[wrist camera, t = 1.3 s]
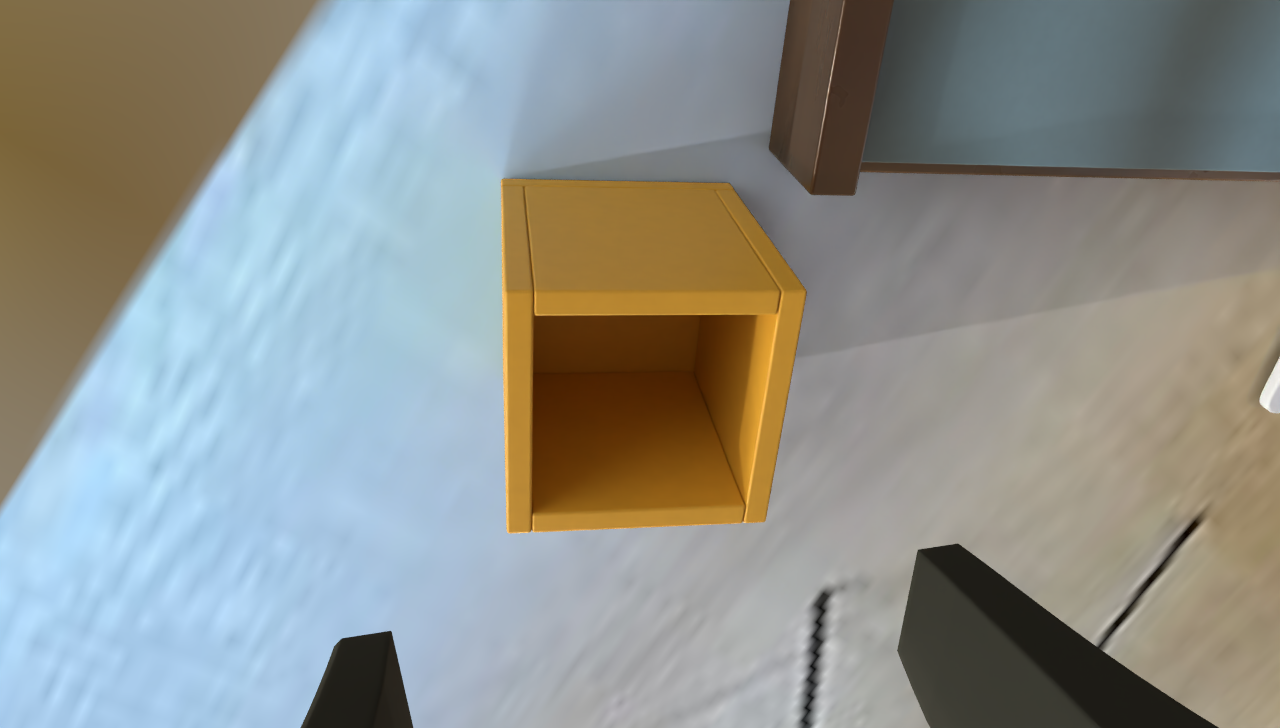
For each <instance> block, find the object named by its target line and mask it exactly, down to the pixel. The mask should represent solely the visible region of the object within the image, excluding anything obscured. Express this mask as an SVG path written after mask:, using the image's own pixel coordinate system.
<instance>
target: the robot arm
mask: <svg viewBox="0 0 1280 728" xmlns="http://www.w3.org/2000/svg"><path fill="white" fill-rule="evenodd" d="M1259 400H1260V404H1261V405H1262V406H1263V407H1264V408H1266V409H1267V410H1268V411H1270V412H1272V413H1280V357H1279V359H1278V361H1277V363H1276V365H1275V367H1274V369H1273V371H1272V373H1271V375H1270V377H1269V379H1268V381H1267V383H1266V385H1265V387H1264V389H1263V391H1262V393H1261V396H1260V399H1259ZM897 651H898V654H899V656H900V659H901V661H902V664H903V666H904V669H905V671H906V674H907V676H908V678H909V681H910V683H911V686H912V688H913V691H914V693H915V695H916V698H917V700H918V702H919V704H920V707H921V709H922V711H923V714H924V716H925V718H926V720H927V722H928V724H929V726H930V728H1218V727H1217V726H1215V725H1213V724H1212V723H1210V722H1209V721H1207V720H1205V719H1204V718H1202V717H1200V716H1199V715H1197V714H1196V713H1194V712H1192V711H1191V710H1189V709H1188V708H1186V707H1185V706H1183V705H1182V704H1180V703H1179V702H1177V701H1175V700H1174V699H1172V698H1171V697H1169V696H1168V695H1166V694H1165V693H1163V692H1162V691H1160V690H1159V689H1157V688H1156V687H1154V686H1153V685H1151V684H1150V683H1148V682H1147V681H1145V680H1144V679H1142V678H1141V677H1139V676H1138V675H1136V674H1135V673H1133V672H1132V671H1130V670H1129V669H1128V668H1126V667H1125V666H1123V665H1122V664H1120V663H1119V662H1117V661H1116V660H1115V659H1113V658H1112V657H1110V656H1109V655H1107V654H1106V653H1105V652H1103V651H1102V650H1100V649H1099V648H1098V647H1096V646H1095V645H1093V644H1092V643H1091V642H1089V641H1088V640H1086V639H1085V638H1084V637H1082V636H1081V635H1080V634H1078V633H1077V632H1075V631H1074V630H1073V629H1071V628H1070V627H1069V626H1067V625H1066V624H1065V623H1063V622H1062V621H1061V620H1059V619H1058V618H1056V617H1055V616H1054V615H1052V614H1051V613H1050V612H1048V611H1047V610H1046V609H1044V608H1043V607H1042V606H1040V605H1039V604H1038V603H1037V602H1035V601H1034V600H1033V599H1031V598H1030V597H1029V596H1027V595H1026V594H1025V593H1023V592H1022V591H1021V590H1019V589H1018V588H1017V587H1015V586H1014V585H1013V584H1011V583H1010V582H1009V581H1007V580H1006V579H1005V578H1004V577H1002V576H1001V575H1000V574H998V573H997V572H996V571H994V570H993V569H992V568H990V567H989V566H988V565H986V564H985V563H984V562H982V561H981V560H980V559H978V558H977V557H976V556H974V555H973V554H972V553H970V552H969V551H967V550H966V549H965V548H963V547H962V546H961V545H959V544H953V545H946V546H940V547H933V548H927V549H920V550H918V552H917V557H916V562H915V566H914V571H913V576H912V581H911V586H910V591H909V596H908V601H907V606H906V611H905V616H904V621H903V626H902V630H901V635H900V640H899V645H898V650H897ZM301 728H413V725H412V720H411V716H410V711H409V707H408V702H407V698H406V694H405V689H404V685H403V680H402V676H401V672H400V667H399V663H398V658H397V654H396V649H395V645H394V641H393V636H392V632H391V631H387V632H381V633H375V634H368V635H362V636H355V637H349V638H342V639H341V640H340V641H339V642H338V643H337V644H336V645H335V646H334V649H333V651H332V654H331V657H330V660H329V662H328V665H327V668H326V670H325V673H324V675H323V678H322V680H321V683H320V685H319V687H318V690H317V692H316V695H315V697H314V699H313V702H312V704H311V706H310V709H309V711H308V713H307V715H306V717H305V720H304V722H303V724H302V726H301Z"/></svg>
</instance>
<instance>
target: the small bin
mask: <svg viewBox="0 0 1280 728" xmlns="http://www.w3.org/2000/svg"><path fill="white" fill-rule="evenodd" d="M501 211H502V299H503V384H504V430H505V477H506V523H507V532H508V533H529V532H531V530H532V531H533V532H553V531H575V530H597V529H620V528H642V527H665V526H687V525H710V524H732V523H742V521H743V522H745V523H755V522H765V520H766V515H767V509H768V504H769V498H770V493H771V487H772V482H773V476H774V471H775V465H776V460H777V454H778V449H779V443H780V438H781V432H782V427H783V421H784V416H785V410H786V405H787V399H788V394H789V388H790V383H791V377H792V371H793V366H794V360H795V355H796V349H797V344H798V338H799V333H800V327H801V322H802V316H803V311H804V305H805V300H806V294H807V291H806V289H805V288H804V286H803V285H802V284H801V282H800V281H799V279H798V278H797V277H796V275H795V274H794V272H793V271H792V270H791V268H790V267H789V265H788V264H787V263H786V261H785V260H784V258H783V257H782V256H781V254H780V253H779V251H778V250H777V249H776V247H775V246H774V245H773V243H772V242H771V240H770V239H769V238H768V236H767V235H766V233H765V232H764V231H763V229H762V228H761V226H760V225H759V224H758V222H757V221H756V219H755V218H754V217H753V215H752V214H751V212H750V211H749V210H748V208H747V207H746V205H745V204H744V203H743V201H742V200H741V199H740V197H739V196H738V194H737V193H736V192H735V191H734V188H733V187H732V186H731V184H729V183H695V182H645V181H595V180H546V179H502V180H501Z"/></svg>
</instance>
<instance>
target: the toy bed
mask: <svg viewBox="0 0 1280 728" xmlns="http://www.w3.org/2000/svg"><path fill="white" fill-rule="evenodd" d="M769 150H770V151H771V153H772V154H773V155H774V156H775V157H776V158H777V159H778V160H779V161H780V162H781V163H782V164H783V165H784V167H785V168H786V169H787V170H788V171H789V172H790V173H791V174H792V175H793V176H794V177H795V178H796V179H797V180H798V182H799V183H800V184H801V185H802V186H803V187H804V188H805V189H806V190H807V191H808V192H809V193H810V194H811V195H842V196H853V195H855V193H856V188H857V183H858V178H859V173H860V172H880V173H924V174H968V175H1012V176H1056V177H1099V178H1143V179H1187V180H1231V181H1275V182H1280V0H790V5H789V11H788V18H787V25H786V32H785V39H784V46H783V53H782V60H781V67H780V74H779V81H778V88H777V95H776V102H775V109H774V116H773V123H772V129H771V136H770V143H769Z"/></svg>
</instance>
